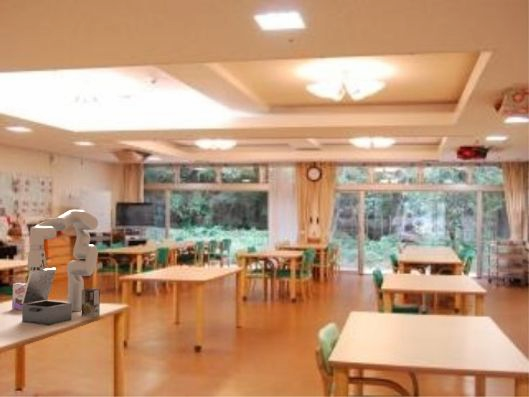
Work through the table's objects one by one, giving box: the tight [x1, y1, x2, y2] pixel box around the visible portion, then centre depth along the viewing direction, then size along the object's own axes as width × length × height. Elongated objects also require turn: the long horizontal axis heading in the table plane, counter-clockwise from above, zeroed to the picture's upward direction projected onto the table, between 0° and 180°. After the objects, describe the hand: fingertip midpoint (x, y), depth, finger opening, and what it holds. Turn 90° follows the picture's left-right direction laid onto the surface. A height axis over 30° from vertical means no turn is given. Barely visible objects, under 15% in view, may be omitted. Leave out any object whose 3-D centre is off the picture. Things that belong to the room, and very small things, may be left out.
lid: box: [22, 267, 57, 304], centre depth 354 cm, size 19×20×3 cm
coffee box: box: [81, 288, 101, 318], centre depth 368 cm, size 9×6×16 cm
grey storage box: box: [21, 299, 73, 326], centre depth 350 cm, size 22×20×10 cm
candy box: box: [11, 282, 34, 311], centre depth 387 cm, size 14×6×16 cm, turn 68°
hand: (35, 279), depth 354 cm, fingers closed
